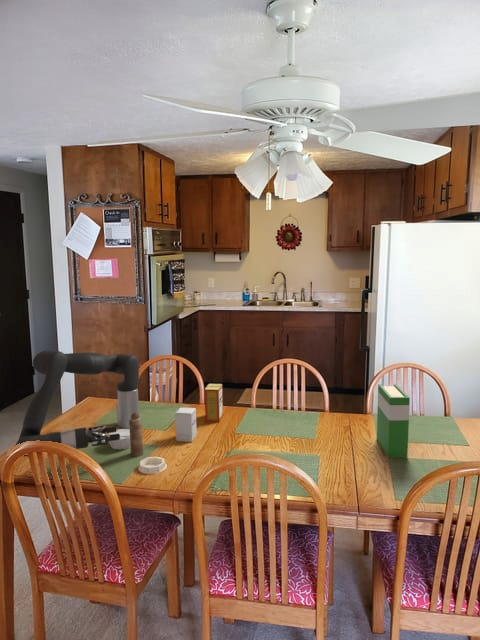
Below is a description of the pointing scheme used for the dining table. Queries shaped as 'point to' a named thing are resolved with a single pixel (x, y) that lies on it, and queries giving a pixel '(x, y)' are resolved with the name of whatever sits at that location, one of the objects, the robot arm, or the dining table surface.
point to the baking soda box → (213, 403)
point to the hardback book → (393, 420)
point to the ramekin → (121, 439)
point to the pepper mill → (136, 435)
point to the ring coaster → (152, 465)
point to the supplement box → (185, 424)
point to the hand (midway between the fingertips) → (117, 432)
